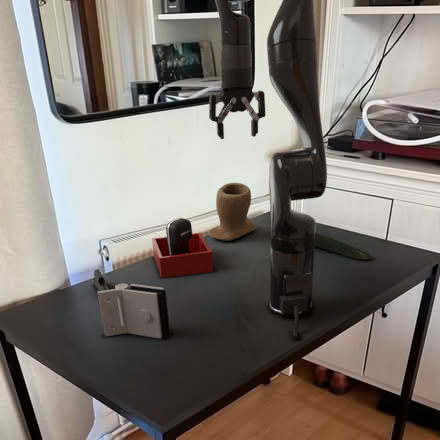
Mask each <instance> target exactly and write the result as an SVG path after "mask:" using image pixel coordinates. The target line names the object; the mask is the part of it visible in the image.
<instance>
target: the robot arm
mask: <svg viewBox="0 0 440 440" xmlns="http://www.w3.org/2000/svg"><path fill="white" fill-rule="evenodd" d="M214 1H215V5H216V9H217V13H218V18H219V24H220V41H221V42H220V45H221V46H220V47H221V48H220V75H221V76H220V78H221V80H220V81H221V93H220V94H214V93H210V94H209V96H208V97H209V98H208V99H209V101H208V103H209V104H208V108H209V109H208V113H209V114H208V118H209V120H210V121H212V122H215V124H216V134H217V137H219V139H220V140H224V139H225V133H224V132H225V129H224V127H225V126H224V123H223V122H224V121H225V119H226V118H227V116H228V115H229V113H238V112H240V113H243V112H247V113H248V114H249V116H250V117H251V120H250V135H251V137H256V136H257V135H258V133H259V120H261V119H262V118H265V117H266V114H267V113H266V99H265V98H266V97H265V94H266V93H265V92H264V91H263V90H260V89H259V90H258V91H253V72H252V71H253V69H252V68H253V66H252V64H253V63H252V57H253V55H252V47H251V19H250V17H249V16H248V15H247V14H244V13H239V12H235V11H234V10H233V9H232V8H231V6H230V3H238V2H240V3H241V2H248V1H250V0H214ZM314 2H315V1H314V0H282V2H281V4H280V6H279V8H278V10H277V12H276V15H275V17H274V19H273V21H272V23H271V26H270V28H269V31H268V34H267V38H266V50H267V52H266V53H267V65H268V66H267V67H268V77H269V81H270V83H271V85H272V88H273V89H274V91H275V93H276V95H277V96H278V97H279V99H280V101H281V102H282V103H283V105H284V106H285V108H286V110H288V112H289V113H290V115H291V116H292V118H293V120H294V122H295V124H296V127H297V129H298V132H299V135H300V140H301V146H302V149H298V150H297V149H296V150H286V151H285V150H284V151H279V152H275V153H274V154H273V155H272V156H271V158H270V161H269V166H268V167H269V168H268V179H269V180H268V184H269V185H268V186H269V217H270V219H269V220H270V270H269V271H270V277H269V278H270V279H269V281H270V283H269V284H270V285H269V286H270V287H269V309H270V311H272V312H273V313H274V314H277V315H278V316H279V315H280V316H282V317H283V318H290V317H294V322H293V326H292V338H293V340H297V339H298V338H299V335H298V328H299V323H300V316H305V315H311V310H312V306H313V303H312V301H313V300H312V299H313V298H312V297H313V279H314V259H315V247H314V246H315V233H316V228H317V225H316V224H317V223H316V220H315V218H314V217H313V216H311V215H309V214H308V213H303V212H300V211H296V210H295V209H292V208H291V202H293V201H302V200H303V201H304V200H311V199H312V200H313V199H317V198H321V197H322V196H323V195H324V193H325V191H326V189H327V184H328V166H327V156H326V148H325V140H324V133H323V126H322V125H323V124H322V117H321V106H320V89H319V61H318V42H317V30H316V20H315V19H316V18H315V4H314ZM253 99H255V101H257V112H256V110H255V109H254V107H253V106H252V104H251V103H252V101H253ZM220 101H221V103H222V104H223V106H222V107H221V109H220V110H219V113H218V115H217V105H218V104H219V102H220Z"/></svg>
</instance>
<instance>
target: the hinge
mask: <svg viewBox="0 0 440 440" xmlns="http://www.w3.org/2000/svg"><path fill="white" fill-rule="evenodd" d="M114 287H115V288H113V289H109V290H105V291H97V298H98V303H99V308H100V314H101V315H100V316H101V319H102V326H103V331H104V332H103V333H104V337H111V336H118V335H122V334H129V335H130V334H131V335H137V336H143V337H148V338H155V339H160V340H161V339H162V338H163V339H164V338H165V339H166V338H168V336H169V335H171V329H170V319H169V310H168V300H167V299H168V298H167V290H166V289H165V288H164V287H161V286H151V285H144V284H137V283H131V284H127V283H118V284H116V285H115V286H114ZM107 298H109V299H110V301H109V302H107V301H106V299H107ZM111 326H113V327H111Z"/></svg>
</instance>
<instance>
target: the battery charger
mask: <svg viewBox="0 0 440 440" xmlns="http://www.w3.org/2000/svg"><path fill="white" fill-rule="evenodd" d="M165 231H166V232H165V233H166V237H167V244H168V252H169V256H173V255H182V254H190V251H189V240H190V239H191V238H192V234H193V227H192V221H190V220H189V219H188V218H187V219H186V218H183V217H177V218H176V219H173V220H171V221H169V222H168V223H167V224H166V227H165Z"/></svg>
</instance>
